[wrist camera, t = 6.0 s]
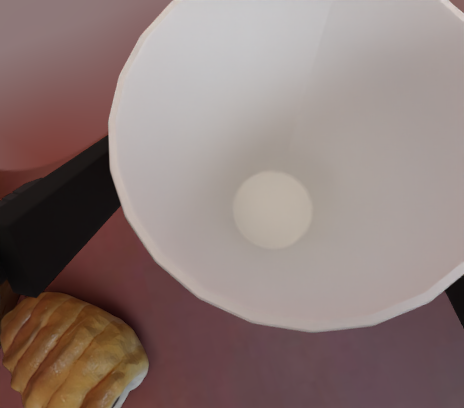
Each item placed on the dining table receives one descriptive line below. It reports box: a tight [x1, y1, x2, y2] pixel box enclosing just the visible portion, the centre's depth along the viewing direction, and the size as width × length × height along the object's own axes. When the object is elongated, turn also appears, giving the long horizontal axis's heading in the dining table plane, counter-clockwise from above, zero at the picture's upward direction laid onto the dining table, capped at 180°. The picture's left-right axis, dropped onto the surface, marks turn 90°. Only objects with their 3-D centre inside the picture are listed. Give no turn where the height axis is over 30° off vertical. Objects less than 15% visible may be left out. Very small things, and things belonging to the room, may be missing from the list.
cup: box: [108, 0, 464, 333], centre depth 14 cm, size 10×10×14 cm
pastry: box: [0, 292, 149, 408], centre depth 18 cm, size 9×7×4 cm
